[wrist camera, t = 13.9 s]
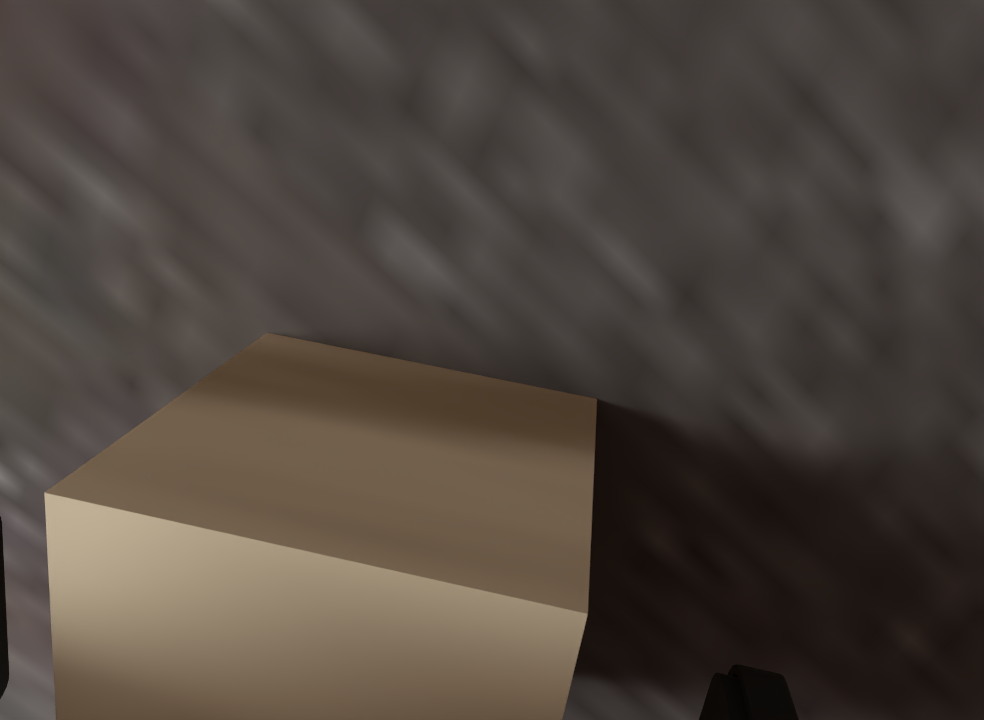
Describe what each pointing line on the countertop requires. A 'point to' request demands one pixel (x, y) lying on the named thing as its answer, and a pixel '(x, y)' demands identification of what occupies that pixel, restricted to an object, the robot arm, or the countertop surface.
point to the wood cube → (327, 547)
